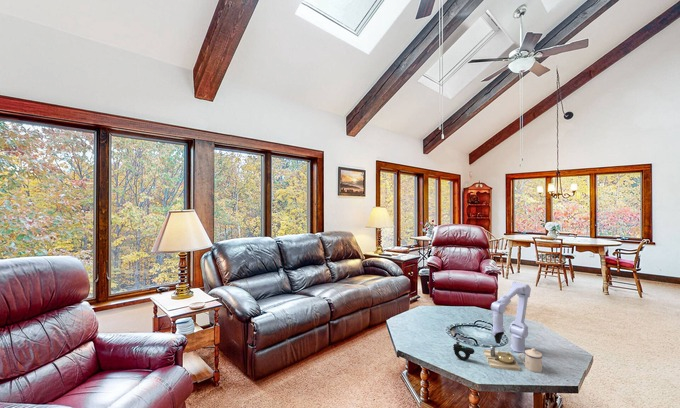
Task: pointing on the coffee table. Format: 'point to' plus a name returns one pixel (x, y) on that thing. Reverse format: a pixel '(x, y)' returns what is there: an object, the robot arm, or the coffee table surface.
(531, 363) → the teacup with lid
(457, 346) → the controller
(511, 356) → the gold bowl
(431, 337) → the coffee table surface
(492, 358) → the slatted wooden board
